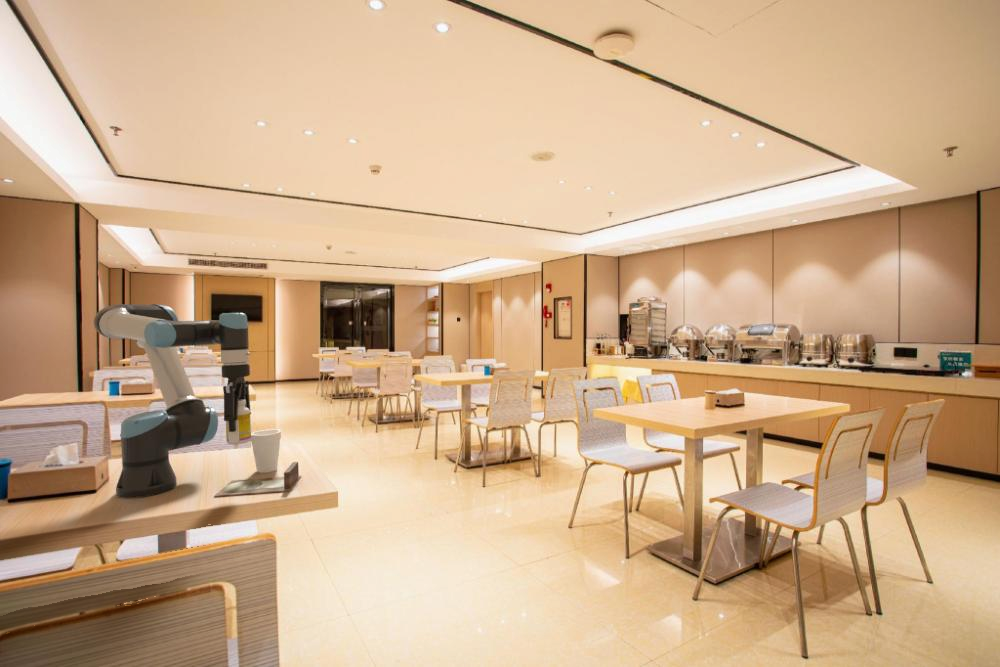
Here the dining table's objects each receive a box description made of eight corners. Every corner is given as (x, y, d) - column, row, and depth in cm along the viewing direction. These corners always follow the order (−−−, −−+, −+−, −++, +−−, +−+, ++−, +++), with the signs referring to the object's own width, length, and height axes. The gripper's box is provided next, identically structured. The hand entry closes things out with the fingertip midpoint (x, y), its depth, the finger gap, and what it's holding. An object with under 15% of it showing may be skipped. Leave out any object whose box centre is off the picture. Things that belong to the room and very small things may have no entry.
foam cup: (273, 474, 165) (272, 435, 164) (246, 474, 165) (245, 435, 165) (286, 465, 174) (285, 429, 174) (260, 466, 174) (259, 429, 174)
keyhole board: (214, 497, 144) (213, 478, 144) (231, 481, 158) (231, 465, 157) (290, 491, 147) (289, 473, 147) (301, 476, 161) (300, 460, 161)
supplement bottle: (256, 440, 152) (254, 398, 152) (239, 445, 146) (237, 402, 146) (239, 439, 154) (237, 398, 154) (221, 444, 148) (219, 402, 148)
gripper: (235, 366, 140) (239, 446, 141) (259, 360, 160) (262, 431, 160) (207, 367, 139) (211, 448, 140) (235, 361, 159) (238, 433, 159)
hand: (238, 439), depth 150 cm, fingers closed on supplement bottle, 7 cm apart
